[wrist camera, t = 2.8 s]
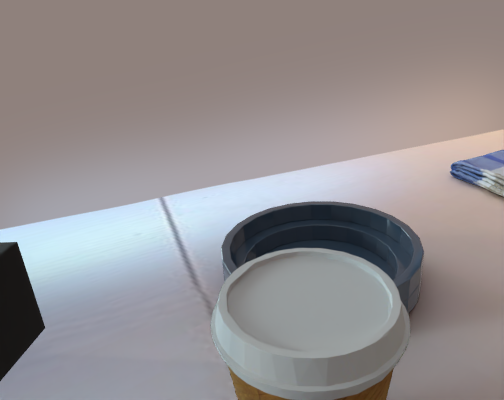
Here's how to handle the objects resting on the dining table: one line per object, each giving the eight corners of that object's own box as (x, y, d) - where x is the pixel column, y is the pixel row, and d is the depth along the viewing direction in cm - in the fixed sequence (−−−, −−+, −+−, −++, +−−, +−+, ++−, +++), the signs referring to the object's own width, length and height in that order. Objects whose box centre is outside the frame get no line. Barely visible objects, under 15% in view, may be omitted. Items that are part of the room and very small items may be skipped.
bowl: (191, 277, 46) (186, 240, 44) (322, 220, 55) (322, 187, 53) (315, 384, 33) (314, 337, 31) (461, 286, 42) (466, 245, 40)
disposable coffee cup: (330, 377, 33) (330, 227, 28) (435, 493, 25) (460, 313, 20) (205, 437, 29) (179, 276, 24) (282, 594, 21) (267, 405, 17)
